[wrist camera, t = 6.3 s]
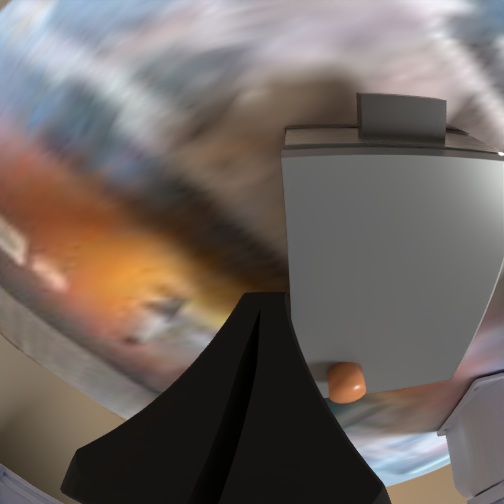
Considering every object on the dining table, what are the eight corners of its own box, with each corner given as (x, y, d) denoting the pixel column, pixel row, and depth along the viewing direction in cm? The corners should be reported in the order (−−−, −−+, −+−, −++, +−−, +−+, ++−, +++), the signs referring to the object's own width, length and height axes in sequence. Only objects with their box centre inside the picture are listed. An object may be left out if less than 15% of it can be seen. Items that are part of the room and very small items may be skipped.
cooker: (423, 335, 16) (437, 378, 13) (297, 342, 17) (295, 389, 14) (464, 100, 9) (509, 112, 6) (282, 91, 10) (277, 96, 8)
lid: (457, 355, 12) (472, 391, 10) (293, 375, 13) (293, 419, 11) (517, 153, 7) (560, 177, 5) (280, 146, 8) (281, 169, 6)
